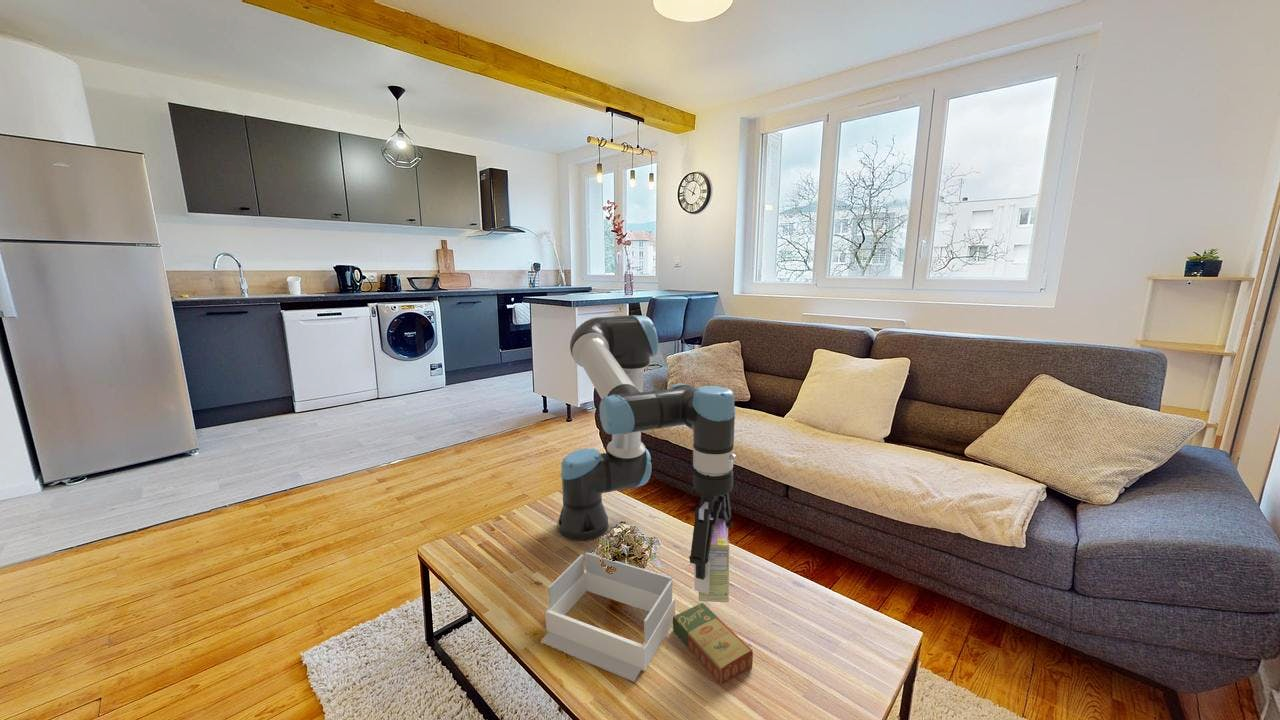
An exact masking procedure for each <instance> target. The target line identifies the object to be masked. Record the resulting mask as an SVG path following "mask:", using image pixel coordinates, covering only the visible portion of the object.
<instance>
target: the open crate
mask: <svg viewBox="0 0 1280 720" xmlns="http://www.w3.org/2000/svg"><path fill="white" fill-rule="evenodd" d="M600 556H601V555H597V554H594V553H591V552H588V551H587V552H585V556H584V554H582V553H581V554H580V555H579V556H578V557H577V558H576V559H575V560H574V561H573V562H572V563H571V564H570V565H569V566H568V567H567V568H566V569H565V570H564V571H563V572H562V573H561V574H560V575H559V576H558V577H557V578H556V579H555V580H553V582H552V583H550V585H549V586H548V587H547V590H548V592H547V593H548V606H549V607H548V608H546V610H545V611H544V613H545V614H544V616H545V632H546V631H548V632H546V634H545V636H544V637H542V639H541V640H542V642H543V643H545V644H547V645H549V646H552V647H554V648H556V649H558V650H557V651H559V650H561V651H563V652H564V653H563V652H562V653H563V654H566V653H567V654H566V655H568V654H569V655H568V656H571V657H573V656H574V657H573V658H575V657H576V658H575V659H578V660H580V661H582V662H585V663H588V664H590V665H593V666H595V667H596V668H597V667H598V669H599V668H600V669H602V670H605V671H606V672H609V673H612V674H614V675H616V676H619V677H622V678H623V679H626V680H629V681H631V682H633V683H635V682H636V679H637V678H638V677H639V674H640V672H641V671H643V672H646V670H647V668H648V667H649V665H650V664H651V661H652V660H653V658H654V656H655V654H656V652H657V651H658V650H659V647H660V646H661V645H662V644H661V643H662V642H663V640H664V638H665V636H666V634H668V631H669V630H670V627H671V626H672V625H673V616H675V615H676V598H675V597H673V581H672V576H669V575H665V574H662V573H658V572H655V571H652V570H648V569H645V568H642V567H638V566H634V565H632V564H628V563H625V562H622V561H617V560H615V561H612V560H613V559H611V560H609V559H610V558H608V559H606V558H607V557H605V558H602V557H603V556H601V557H600ZM584 557H585V559H584ZM600 558H601V559H600ZM584 560H585V561H584ZM600 560H601V562H600ZM602 560H604V565H605V564H606V565H607V566H609V567H611V566H612V567H615V568H616V569H617V570H616V571H615V572H614V573H613V574H609V573H607V572H606V567H605V568H603V566H602V567H601V563H602ZM584 562H585V563H584ZM586 592H589V593H593V594H595V595H598V596H601V597H604V598H607V599H609V600H610V599H611V600H613V601H616V602H619V603H621V604H625V605H628V606H630V607H634V608H637V609H638V610H642V611H646V612H648V614H647V616H646V617H645V618H644V620H643V626H644V627H643V629H644V630H643V631H644V633H643V635H644V642H643V644H642V643H639V642H636V641H634V640H632V639H628V638H625V637H623V636H620V635H618V634H615V633H613V632H610V631H607V630H604V629H602V628H599V627H597V626H594V625H591V624H588V623H586V622H583V621H580V620H579V619H575V618H572V617H571V616H568V615H567V614H568V613H569V612H570V610H571V609H572V608H573V607H574V606H575V605H576V603H577V602H578V601H579V600H580V599H581V598H582V597H583V595H585V593H586ZM544 640H545V641H544ZM547 645H546V646H547ZM549 646H548V647H549ZM552 647H551V648H552ZM554 648H553V649H554ZM556 649H555V650H556ZM561 651H560V652H561Z"/></svg>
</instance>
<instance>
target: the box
mask: <svg viewBox="0 0 1280 720" xmlns="http://www.w3.org/2000/svg"><path fill="white" fill-rule="evenodd" d="M710 520H713V518H710ZM726 527H727V526H726V523H725V520H724V519H720V518H718V521H717V524H716V525H715V526H714V528H713V534H712V540H711V545H710V551H709V557H708V560H710V592H709V594H706V593H702V592H699V591H698V601H699V602H710V603H711V602H713V603H715V602H716V603H729V602H730V595H729V593H730V589H729V588H730V586H729V585H730V541H729V535H728V536H727V530H726Z"/></svg>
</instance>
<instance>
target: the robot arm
mask: <svg viewBox="0 0 1280 720" xmlns="http://www.w3.org/2000/svg"><path fill="white" fill-rule="evenodd" d="M570 338H571V339H570V343H569V350H570V355H571V357H572V359H573V361H574V362H575V363H576V364H577V366H579V367H581V368H583V369H584V372H585V373H586V375H587V376H588V378H589V380H590V382H591V383H592V385H593V387H594V389H595V390H596V392H597V394H598V395H599V398H600V402H599V419H600V423H601V427H602V429H603V430H604V432H605V433H606V434H608V435H611V441H609V442H608V444H607V446H606V452H604V453H603V452H602V453H601V452H600V451H599V450H598V449H596V448H588V447H587V448H582V449H581V448H580V449H577V450H575V451H572V452H570V453H568V454H567V455H566V456H565V457H564V458H563V459H562V461H561V466H560V467H561V468H560V469H561V470H560V471H561V472H560V477H561V488H562V489H561V492H562V507H561V511H560V514H559V517H558V520H557V525H558V527H557V528H558V532H559V534H560V535H561V537H563V538H565V539H567V538H568V540H572V541H587V540H594V539H596V538H598V537H601V536H602V535H603V534H605V533H606V532H607V530H608V528H609V516H608V515H607V512H606V509H605V506H604V503H603V499H602V498H603V494H605V493H610V492H616V491H622V490H626V489H635V488H638V487H641V486H644V485H645V484H647V483H648V482H649V480H650V478H651V474H652V462H651V461H652V458H651V453H650V452H649V450H648V449H647V448H646V445H645V444H644V443H643V442H642V440H641V439H642V438H641V437H642V432H644V431H650V430H657V429H659V430H660V429H666V428H673V427H679V426H685V427H688V428H689V429H690V430H692V434H693V435H692V437H693V438H692V439H693V443H692V465H693V470H692V486H693V488H694V490H695V491H697V492H698V493H700V495H701V497H700V499H699V505H698V506H695V509H694V522H693V523H694V524H693V533H692V539H691V547H690V555H689V563H690V564H693V565H694V567H693V569H694V580H693V581H694V588H693V589H694V591H696V592H698V593H699V592H702V593H706V594H709V592H710V560H708V557H709V551H710V545H711V540H712V534H713V528H714V526H715V525H716V524H717V521H718V518H720V519H724V520H725V523H726V530H727V536H728V537H729V527H730V528H731V527H732V526H733V521H732V520H731V518H732V512H731V511H732V510H731V509H732V508H731V500H730V492H732V491H733V489H734V471H733V467H734V461H736V460H737V455H736V454H734V445H735V443H734V442H735V424H736V422H735V420H736V418H735V417H736V408H735V407H736V406H735V394H734V391H733V390H731V389H730V388H728V387H725V386H720V385H704V386H699V387H694V386H693V385H691V384H687V383H686V384H685V383H676V384H673V385H671V386H670V387H668V389H662V390H652V391H651V390H650V391H644V374H645V373H644V372H645V369H646V368H648V367H649V366H650V362H651V361H650V360H651V358H652V357H654V356H657V354H658V351H659V338H658V333H657V330H656V326H655V325H654V322H653V321H652V319H651V318H649V317H648V316H646V315H635V314H631V315H630V314H629V315H617V316H616V315H615V316H597V317H592V318H590V319H588V320H585V321H584V322H581V324H580V325H579V326H577V328H575V330H574V332H573V333H572V336H571V337H570ZM710 518H713V520H710Z"/></svg>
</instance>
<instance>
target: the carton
mask: <svg viewBox="0 0 1280 720" xmlns="http://www.w3.org/2000/svg"><path fill="white" fill-rule="evenodd" d="M672 631H673V633H674V634H675V636H676V637H677V638H678V639H680V641H681V642H682V643H683V644H684V646H685V647H686V648H687V649H688V651H690V652H691V653H692V655H693V656H694V657H695V658H696V659H697V661H698V662H699V663H700V664H701V666H702V667H704V669H705V670H706V671H707V672H708V673H709V674H710V676H711V677H712V678H713V679H714V680H715V682H717V683H718V685H719V686H722V685H725V684H726V683H728V682H730V681H731V680H734V678H736V677H738V676H740V675H742V674H743V673H745V672H747V671H749V670H751V669H752V668H753V663H754V662H753V661H754V653H753V649H752V648H751V647H750V646H749V645H748V644H746V642H744V640H742V639H741V638H740V637H739V636H738V635H737V634H736V633H735V632H734V631H733V630H732V629H731V628H730V627H729V626H728V625H726V624H725V623H724V622H723V620H721V619H720V618H719V616H717V614H715V613H714V612H713V611H712V610H711V609H710V608H709V607H708V606H707V605H706V604H704V602H701V603H699V604H697V605H695V606H692V607H691V608H688V609H687V610H684V611H682V612H680V613H677V614H675V616H673V622H672Z"/></svg>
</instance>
